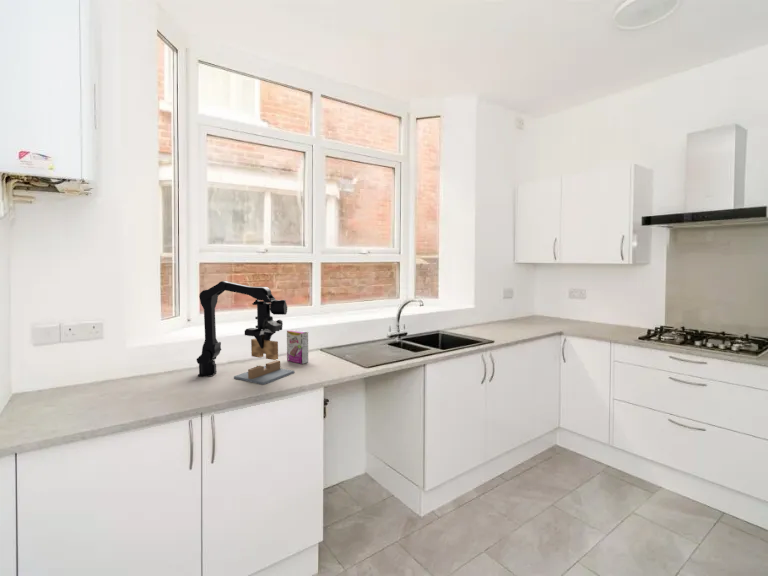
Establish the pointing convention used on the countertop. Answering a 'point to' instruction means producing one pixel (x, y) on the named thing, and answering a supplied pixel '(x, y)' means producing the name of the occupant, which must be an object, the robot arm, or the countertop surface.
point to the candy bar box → (297, 346)
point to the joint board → (265, 377)
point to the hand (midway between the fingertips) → (264, 347)
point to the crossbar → (265, 349)
